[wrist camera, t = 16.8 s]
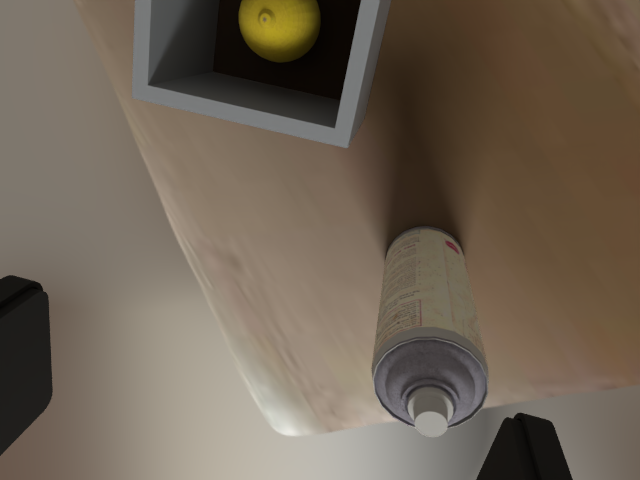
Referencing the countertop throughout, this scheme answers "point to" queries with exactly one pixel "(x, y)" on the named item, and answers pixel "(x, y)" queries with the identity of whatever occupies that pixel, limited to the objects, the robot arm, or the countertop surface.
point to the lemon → (280, 27)
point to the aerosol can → (428, 335)
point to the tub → (242, 94)
